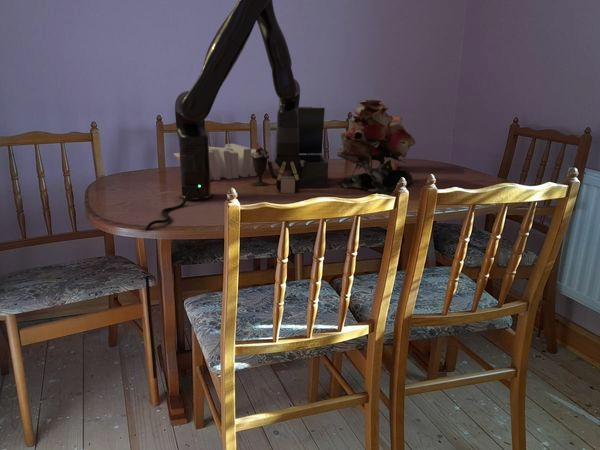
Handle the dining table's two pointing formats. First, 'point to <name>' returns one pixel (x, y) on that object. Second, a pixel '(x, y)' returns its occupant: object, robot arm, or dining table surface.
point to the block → (287, 185)
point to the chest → (313, 172)
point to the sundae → (260, 164)
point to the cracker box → (394, 162)
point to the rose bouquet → (375, 148)
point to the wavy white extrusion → (229, 161)
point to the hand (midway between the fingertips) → (287, 190)
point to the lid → (310, 130)
